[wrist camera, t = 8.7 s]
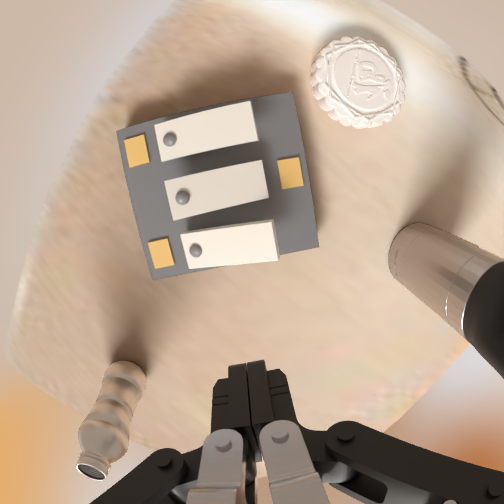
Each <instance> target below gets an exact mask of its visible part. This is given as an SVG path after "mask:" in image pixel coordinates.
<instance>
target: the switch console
mask: <svg viewBox="0 0 504 504" xmlns="http://www.w3.org/2000/svg"><path fill="white" fill-rule="evenodd" d="M247 101H251V103H252V108H253V113H254V118H255V123H256V128H257V133H258V138H259V141H254V142H249V143H243V144H238V145H233V146H229V147H224V148H219V149H215V150H210V151H206V152H201V153H197V154H193V155H189V156H185V157H181V158H177V159H173V160H169V161H164V162H161V157H160V152H159V147H158V142H157V137H156V132H155V126H154V125H156V124H159V123H163V122H166V121H169V120H173V119H176V118H180V117H183V116H187V115H191V114H195V113H199V112H202V111H206V110H211V109H215V108H219V107H223V106H228V105H232V104H237V103H242V102H247ZM116 132H117V137H118V142H119V148H120V153H121V158H122V163H123V167H124V172H125V177H126V181H127V186H128V190H129V194H130V199H131V203H132V207H133V211H134V215H135V219H136V223H137V226H138V230H139V234H140V238H141V241H142V245H143V249H144V252H145V256H146V259H147V263H148V266H149V269H150V273H151V276H152V279H153V280H156V279H161V278H167V277H172V276H177V275H182V274H187V273H192V272H197V271H202V270H207V269H212V268H218V267H223V266H217V267H206V268H195V269H189V267H188V263H187V259H186V255H185V252H184V248H183V244H182V240H181V236H180V234H182V233H183V232H185V231H191V230H198V229H205V228H212V227H219V226H226V225H233V224H240V223H248V222H255V221H263V220H270V219H274V225H275V231H276V236H277V242H278V248H279V254H280V255H282V254H287V253H292V252H297V251H302V250H307V249H312V248H317V247H319V242H318V235H317V227H316V220H315V213H314V207H313V200H312V194H311V187H310V181H309V175H308V169H307V163H306V157H305V152H304V146H303V141H302V135H301V130H300V125H299V120H298V115H297V110H296V105H295V100H294V95H293V92H290V93H282V94H274V95H267V96H261V97H254V98H248V99H243V100H237V101H231V102H226V103H221V104H216V105H211V106H207V107H202V108H198V109H193V110H189V111H185V112H181V113H177V114H173V115H169V116H165V117H161V118H158V119H154V120H151V121H147V122H144V123H140V124H137V125H134V126H130V127H127V128H124V129H121V130H118V131H116ZM258 160H262V163H263V169H264V174H265V179H266V185H267V190H268V196H269V198H266V199H262V200H257V201H253V202H248V203H244V204H240V205H235V206H231V207H227V208H223V209H219V210H215V211H211V212H206V213H202V214H198V215H194V216H190V217H187V218H183V219H179V220H175V221H173V217H172V213H171V209H170V205H169V201H168V196H167V192H166V187H165V183H164V181H166V180H170V179H175V178H179V177H183V176H187V175H191V174H196V173H200V172H204V171H209V170H213V169H218V168H223V167H227V166H232V165H237V164H242V163H247V162H253V161H258ZM227 266H228V265H227Z"/></svg>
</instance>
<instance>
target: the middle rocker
mask: <svg viewBox="0 0 504 504" xmlns="http://www.w3.org/2000/svg"><path fill="white" fill-rule="evenodd" d="M164 183H165V187H166V192H167V196H168V201H169V205H170V209H171V213H172V217H173V221H175V220H179V219H183V218H187V217H190V216H194V215H198V214H202V213H206V212H211V211H215V210H219V209H223V208H227V207H231V206H235V205H240V204H244V203H248V202H253V201H257V200H262V199H266V198H269V196H268V190H267V185H266V179H265V174H264V169H263V163H262V160H258V161H253V162H247V163H242V164H237V165H232V166H227V167H223V168H218V169H213V170H209V171H204V172H200V173H196V174H191V175H187V176H183V177H179V178H175V179H170V180H166V181H164Z"/></svg>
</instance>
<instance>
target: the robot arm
mask: <svg viewBox="0 0 504 504" xmlns="http://www.w3.org/2000/svg"><path fill="white" fill-rule="evenodd" d="M389 268H390V271H391V273H392V275H393V276H394V278H395V279H396V280H397V281H399V282H400V283H401V284H402V285H403V286H405V287H406V288H407V289H408V290H409V291H411V292H412V293H413V294H414V295H415V296H417V297H418V298H419V299H420V300H421V301H422V302H424V303H425V304H426V305H427V306H428V307H430V308H431V309H432V310H433V311H434V312H435V313H437V314H438V315H439V316H440V317H441V318H442V319H443V320H445V321H446V322H447V323H448V324H449V325H450V326H451V327H453V328H454V329H455V330H456V331H457V332H458V333H459V334H461V335H462V336H463V337H464V338H465V339H466V340H467V341H468V342H469V343H471V344H472V345H473V346H474V347H475V349H476V350H477V351H478V352H479V353H480V354H481V356H482V357H483V358H484V359H485V360H486V361H487V362H488V363H489V364H490V365H491V366H492V367H494V369H495V370H497V372H498V373H499V374H500V375H501V376H502V377H503V379H504V259H502V258H500V257H498V256H496V255H494V254H492V253H490V252H488V251H485V250H483V249H481V248H479V246H477V245H475V244H473V243H471V242H469V241H466V240H464V239H462V238H460V237H457V236H455V235H453V234H450V233H448V232H446V231H443V230H441V229H436V228H434V227H431V226H429V225H426V224H424V223H415V224H411V225H409V226H407V227H405V228H404V229H403V230H401V231H400V232H399V234H398V235H397V236H396V238H395V239H394V241H393V243H392V245H391V248H390V252H389ZM261 453H262V455H261ZM262 456H263V460H264V461H265V466H266V470H267V475H268V479H269V487H270V492H271V496H272V500H273V504H330V502H329V500H328V497H327V495H326V492H325V489H324V486H323V484H322V483H329V484H330V485H331V486H332V487H334V488H336V489H338V490H340V491H341V492H344V493H345V494H347V495H349V496H351V497H353V498H355V499H357V500H359V501H361V502H363V503H365V504H504V472H501V471H497V470H493V469H489V468H485V467H481V466H478V465H474V464H471V463H467V462H464V461H460V460H457V459H454V458H451V457H448V456H444V455H442V454H439V453H435V452H432V451H430V450H427V449H423V448H421V447H418V446H415V445H413V444H410V443H407V442H405V441H402V440H399V439H397V438H394V437H392V436H389V435H387V434H384V433H382V432H379V431H377V430H374V429H372V428H369V427H367V426H365V425H362V424H360V423H358V422H354V421H342V422H338V423H336V424H334V425H332V426H331V427H330V428H329V429H328V430H327V431H314V430H309V429H306V428H304V427H303V426H301V425H300V424H299V423H298V421H297V419H296V415H295V411H294V407H293V402H292V398H291V394H290V390H289V386H288V382H287V378H286V375H285V374H284V373H283V372H282V371H281V370H280V369H275V370H270V371H267V370H266V365H265V361H264V360H259V361H254V362H248V363H247V365H246V363H243V364H237V365H231V366H229V367H228V378H225V379H218V381H217V383H216V384H215V386H214V387H213V399H212V417H211V434H210V435H209V436H208V437H207V438H206V439H205V441H204V444H203V446H201V447H200V448H198V449H196V450H193V451H190V452H187V453H184V454H181V453H180V452H179V451H177V450H175V449H171V448H164V449H160V450H157V451H155V452H154V453H152V454H151V455H150V456H149V457H147V458H146V459H145V460H144V461H143V462H142V463H140V464H139V465H138V466H137V467H136V468H134V469H133V470H132V471H131V472H130V473H128V474H127V475H126V476H124V477H123V478H122V479H121V480H120V481H118V482H117V483H116V484H115V485H113V486H112V487H111V488H110V489H108V490H107V491H106V492H104V493H103V494H102V495H100V496H99V497H98V498H96V499H95V500H94V501H92V502H91V503H90V504H257V491H258V486H257V485H258V482H257V481H258V480H257V475H256V474H257V470H256V462H261V461H262Z"/></svg>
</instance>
